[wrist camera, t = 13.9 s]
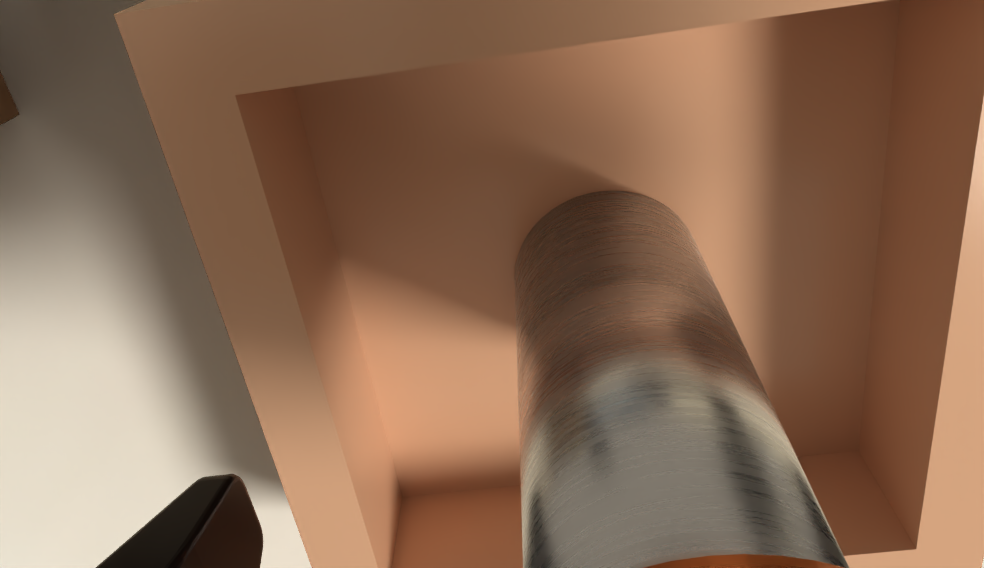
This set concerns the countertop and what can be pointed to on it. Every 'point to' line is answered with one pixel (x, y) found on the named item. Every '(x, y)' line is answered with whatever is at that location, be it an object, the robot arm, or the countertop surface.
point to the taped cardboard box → (6, 103)
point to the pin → (646, 406)
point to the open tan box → (552, 181)
